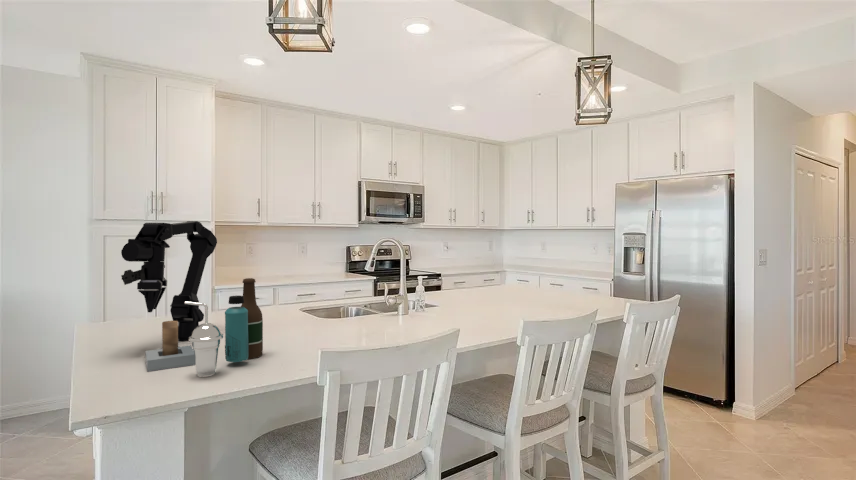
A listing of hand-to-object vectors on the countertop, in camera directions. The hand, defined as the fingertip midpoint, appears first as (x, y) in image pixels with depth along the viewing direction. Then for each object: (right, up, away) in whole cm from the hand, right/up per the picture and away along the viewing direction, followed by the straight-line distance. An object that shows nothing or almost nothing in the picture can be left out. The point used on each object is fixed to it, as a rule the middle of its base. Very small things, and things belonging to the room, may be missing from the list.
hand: (151, 310), depth 147 cm
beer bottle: (+33, -14, -4) cm, 36 cm away
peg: (+12, -13, -12) cm, 22 cm away
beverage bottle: (+32, -14, -13) cm, 38 cm away
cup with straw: (+28, -14, -22) cm, 38 cm away
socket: (+12, -13, -12) cm, 22 cm away
